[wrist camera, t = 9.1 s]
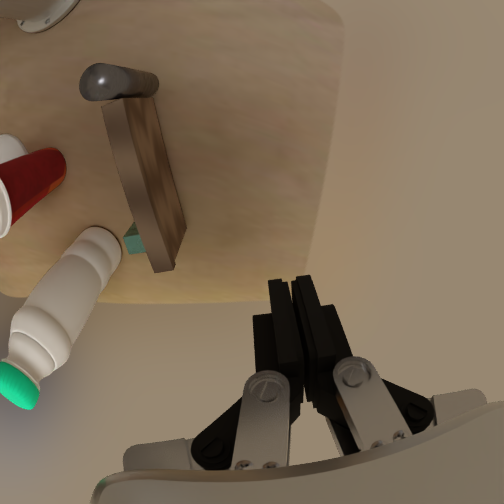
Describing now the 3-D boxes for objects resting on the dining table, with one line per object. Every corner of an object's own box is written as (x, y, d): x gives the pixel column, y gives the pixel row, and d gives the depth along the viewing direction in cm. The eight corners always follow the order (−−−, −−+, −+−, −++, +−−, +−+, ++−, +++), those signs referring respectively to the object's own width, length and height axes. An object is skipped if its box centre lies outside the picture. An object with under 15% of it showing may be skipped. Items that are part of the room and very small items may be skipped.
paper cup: (37, 133, 26) (-37, 163, 14) (78, 149, 28) (5, 186, 16) (28, 184, 29) (-36, 229, 17) (66, 202, 31) (4, 256, 19)
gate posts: (133, 75, 24) (78, 68, 14) (158, 70, 24) (113, 58, 14) (147, 221, 34) (112, 277, 23) (169, 220, 34) (141, 277, 23)
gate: (138, 102, 25) (101, 106, 18) (155, 96, 25) (122, 98, 17) (173, 230, 33) (154, 273, 26) (188, 227, 33) (173, 270, 26)
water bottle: (125, 232, 34) (31, 396, 13) (120, 274, 38) (51, 428, 16) (81, 218, 33) (-32, 357, 11) (80, 260, 36) (-5, 397, 15)
